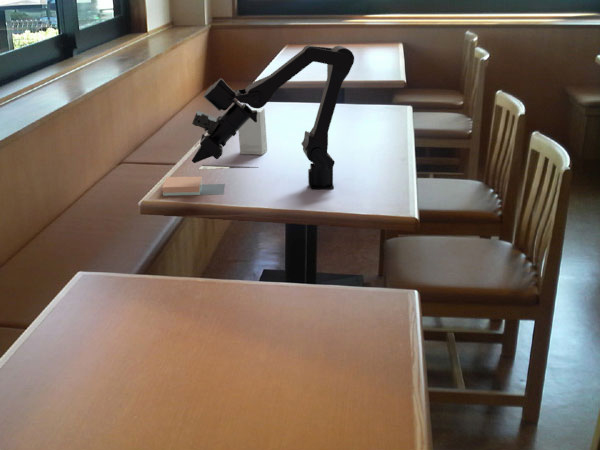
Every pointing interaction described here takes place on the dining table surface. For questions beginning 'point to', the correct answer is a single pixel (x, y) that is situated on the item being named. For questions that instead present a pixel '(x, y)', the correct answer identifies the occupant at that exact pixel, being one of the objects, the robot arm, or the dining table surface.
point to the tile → (182, 186)
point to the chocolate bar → (222, 167)
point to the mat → (212, 189)
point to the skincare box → (253, 135)
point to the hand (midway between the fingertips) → (192, 161)
